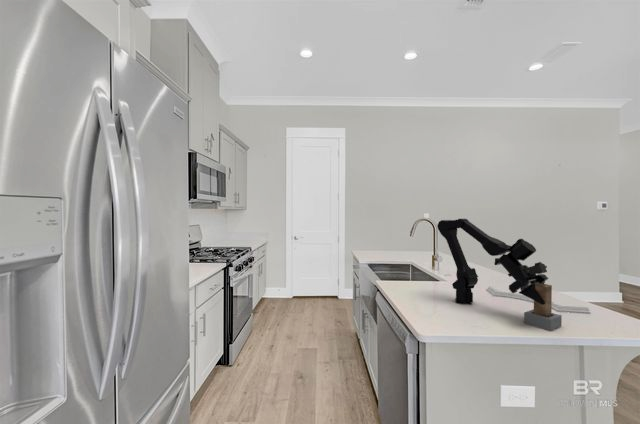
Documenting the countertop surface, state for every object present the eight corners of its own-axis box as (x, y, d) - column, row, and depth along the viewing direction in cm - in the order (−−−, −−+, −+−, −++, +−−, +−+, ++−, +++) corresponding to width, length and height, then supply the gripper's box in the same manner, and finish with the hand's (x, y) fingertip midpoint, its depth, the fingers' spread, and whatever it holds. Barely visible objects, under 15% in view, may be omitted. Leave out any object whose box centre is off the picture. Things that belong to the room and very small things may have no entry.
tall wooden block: (533, 319, 109) (533, 284, 109) (538, 317, 111) (539, 282, 111) (546, 322, 106) (546, 286, 106) (551, 320, 108) (551, 285, 108)
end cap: (524, 323, 110) (524, 312, 110) (535, 319, 114) (535, 308, 114) (550, 331, 103) (550, 319, 103) (561, 326, 107) (561, 315, 107)
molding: (593, 313, 122) (594, 306, 122) (582, 319, 116) (582, 311, 116) (490, 290, 158) (490, 284, 158) (477, 293, 152) (477, 287, 152)
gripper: (518, 257, 107) (554, 295, 98) (542, 253, 117) (577, 287, 107) (495, 274, 114) (527, 311, 104) (520, 269, 123) (551, 303, 114)
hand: (546, 303), depth 107 cm, fingers closed on tall wooden block, 4 cm apart
